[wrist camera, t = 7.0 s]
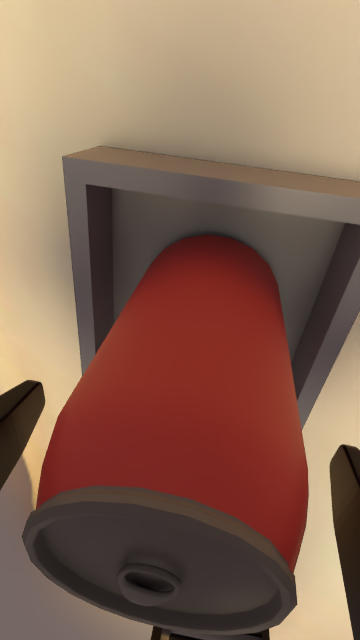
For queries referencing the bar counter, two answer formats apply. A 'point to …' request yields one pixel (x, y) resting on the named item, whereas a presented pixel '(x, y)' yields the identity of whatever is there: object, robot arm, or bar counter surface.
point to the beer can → (182, 454)
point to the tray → (219, 220)
